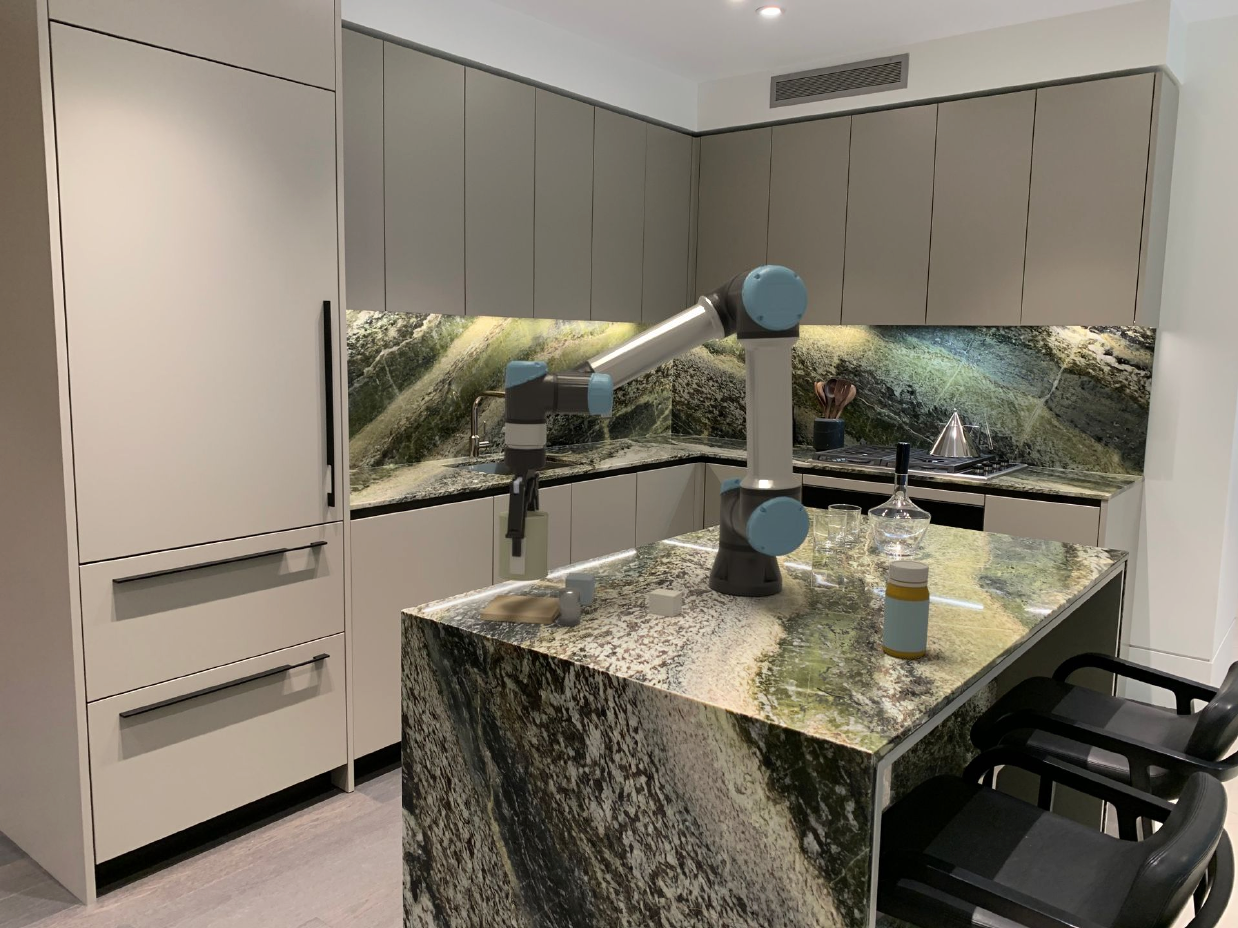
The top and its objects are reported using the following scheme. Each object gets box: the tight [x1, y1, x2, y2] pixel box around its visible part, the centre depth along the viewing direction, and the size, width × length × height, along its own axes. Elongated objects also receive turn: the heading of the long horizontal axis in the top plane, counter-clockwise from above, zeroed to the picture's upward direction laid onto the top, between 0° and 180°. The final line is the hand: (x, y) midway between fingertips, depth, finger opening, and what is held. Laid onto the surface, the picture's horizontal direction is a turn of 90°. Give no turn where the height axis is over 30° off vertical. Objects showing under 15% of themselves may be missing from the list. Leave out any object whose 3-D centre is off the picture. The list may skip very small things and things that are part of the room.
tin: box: [557, 587, 582, 627], centre depth 172 cm, size 4×4×6 cm
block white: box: [648, 587, 683, 618], centre depth 180 cm, size 5×4×4 cm
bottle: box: [881, 559, 930, 660], centre depth 159 cm, size 7×7×15 cm
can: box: [497, 509, 550, 582], centre depth 177 cm, size 9×9×12 cm
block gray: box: [564, 572, 596, 606], centre depth 187 cm, size 5×5×5 cm
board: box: [479, 594, 558, 625], centre depth 179 cm, size 13×13×1 cm
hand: (523, 567), depth 178 cm, fingers closed on can, 9 cm apart
